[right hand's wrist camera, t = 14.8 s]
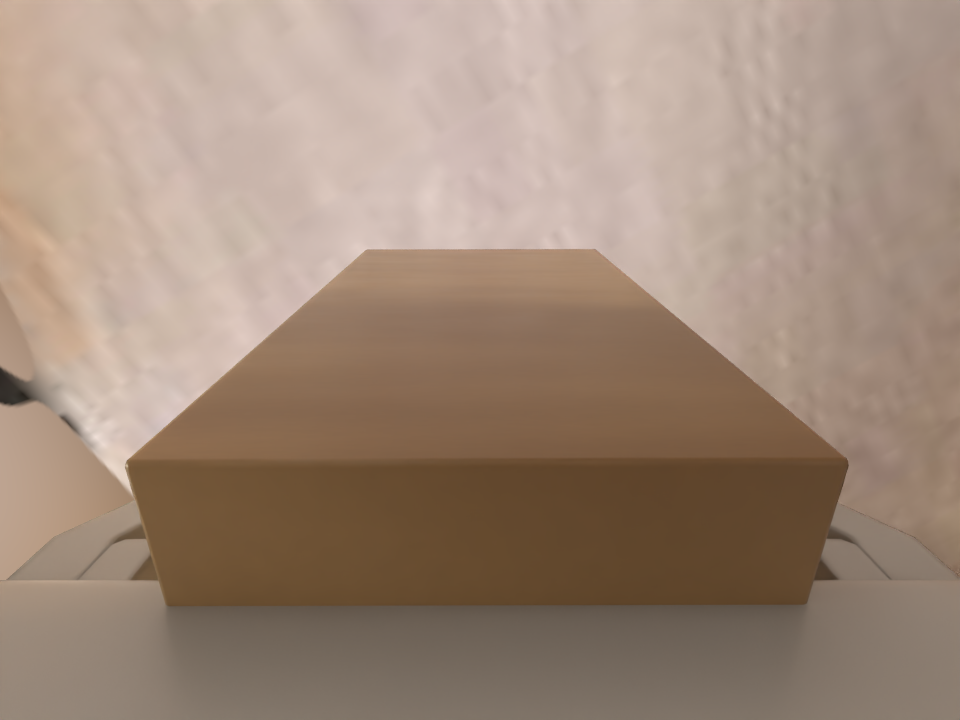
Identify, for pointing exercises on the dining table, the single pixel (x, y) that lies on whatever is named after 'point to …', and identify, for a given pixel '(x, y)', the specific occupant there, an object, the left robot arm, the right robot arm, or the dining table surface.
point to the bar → (485, 451)
